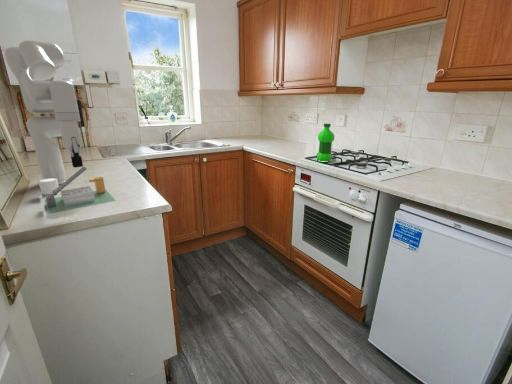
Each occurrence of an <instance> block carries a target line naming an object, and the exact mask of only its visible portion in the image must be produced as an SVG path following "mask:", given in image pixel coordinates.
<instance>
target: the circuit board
mask: <svg viewBox="0 0 512 384" xmlns="http://www.w3.org/2000/svg"><path fill="white" fill-rule="evenodd" d="M105 191H106V192H102V193H97V192H96V190H93V193H94V197H95V201H94V202H89V203H83V204H78V205H73V206H68V207H65V205H64V202H63V200H62V196H59V197H54V198H55V202H56V206H57V207H51V208H48V204H47V201H46V199H44V201H45V207H46V212H47V215H51V214H55V213H59V212H65V211H69V210H77V209H79V208H87V207H90V206H96V205H100V204H106V203H110V202H116V199H115V198H114V197H113V196H112V194H110V192H109V191H108V190H107V189H106V188H105Z"/></svg>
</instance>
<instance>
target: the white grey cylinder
mask: <svg viewBox="0 0 512 384" xmlns="http://www.w3.org/2000/svg"><path fill="white" fill-rule="evenodd" d="M37 183H38V185H39V188H40V191H41V194H42V195H48V194H53V192H52V191H53V190H55V189H57V188H58V187H59V185H58V180H57V178H47V179H42V178H41V179H38V181H37Z"/></svg>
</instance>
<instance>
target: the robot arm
mask: <svg viewBox="0 0 512 384" xmlns="http://www.w3.org/2000/svg"><path fill="white" fill-rule="evenodd" d="M4 57H5V61H6V64H7V66H8V67H9V69H10V71H11V72H12V74H13V75H14V77H15V79H16V81H17V82H18V86H19V88H20V93H21V95H22V101H23V103H24V106H25V108H26V110H27V111H28V112H29V113H31V114H54V115H50V116H48V115H46V116H45V115H43V116H33V117H29V118H28V119H27V120H26V124H25V125H26V129H27V131H28V133H29V135H30V139H31V141H32V143H33V146H34V152H35V155H36V159H37V163H38V167H39V171H40V174H41V180H42V179H47V178H57V180H58V186H60V185H61V184H63V183H64V182H65V181H66V180H68V179H69V178H70V177H67V175H66V170H65V166H64V161H63V158H62V153H61V150H60V146H59V144H58V143H57V142H56V141H54V140H53V139H52V138H55V137H58V138H59V137H62V142H63V147H64V149H66V150H67V151H69V152H70V160H71V164H72V167H73V168H82V167H84V164H83V159H82V156H81V151H80V150H81V149H82V147H83V146H82V139H81V133H80V129H79V124H78V122H81V121H82V120H81V116H80V110H79V106H78V100H77V97H76V89H75V86H74V83H72V82H71V81H69V80H68V81H66V80H49V79H52V78H53V77H54V76H55V74H56V71H57V70H59V69H60V68H61V67H62V66H63V65H64V63H65V56H64V53H63V50H62V49H61V48H60V46H58V45H57V44H56V43H52V42H45V41H38V40H23V41H22V42H20V43H19V44H18V46H10V47H7V48H6V49H5V50H4Z"/></svg>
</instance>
